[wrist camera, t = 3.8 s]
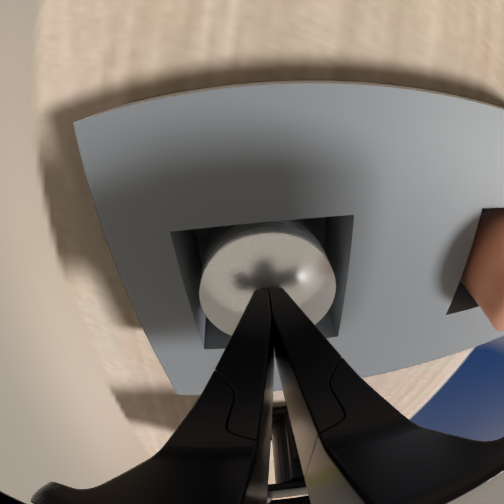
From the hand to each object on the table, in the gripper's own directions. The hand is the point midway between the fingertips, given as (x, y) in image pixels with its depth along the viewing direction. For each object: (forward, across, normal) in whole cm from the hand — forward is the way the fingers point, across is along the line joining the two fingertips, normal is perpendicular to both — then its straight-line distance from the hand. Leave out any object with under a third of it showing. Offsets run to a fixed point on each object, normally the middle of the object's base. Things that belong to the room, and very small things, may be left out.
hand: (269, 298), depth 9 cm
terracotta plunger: (+1, -10, 0) cm, 10 cm away
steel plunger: (+3, 0, 0) cm, 3 cm away
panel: (+4, -5, 0) cm, 7 cm away
